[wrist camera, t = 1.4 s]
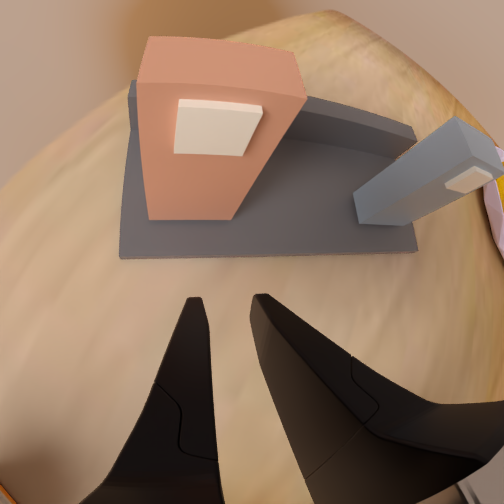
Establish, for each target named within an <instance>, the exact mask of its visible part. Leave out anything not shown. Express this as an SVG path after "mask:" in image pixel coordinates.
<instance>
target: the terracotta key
mask: <svg viewBox="0 0 504 504" xmlns="http://www.w3.org/2000/svg"><path fill="white" fill-rule="evenodd" d="M136 89H137V111H138V127H139V140H140V152H141V162H142V171H143V180H144V188H145V196H146V203H147V210H148V217H149V220H231V219H232V217H233V216H234V214H235V213H236V211H237V209H238V208H239V206H240V204H241V203H242V201H243V199H244V198H245V196H246V194H247V193H248V191H249V190H250V188H251V186H252V185H253V183H254V181H255V180H256V178H257V177H258V175H259V173H260V172H261V170H262V169H263V167H264V165H265V164H266V162H267V161H268V159H269V158H270V156H271V154H272V153H273V151H274V150H275V148H276V147H277V145H278V143H279V142H280V140H281V139H282V137H283V136H284V134H285V132H286V131H287V129H288V128H289V126H290V125H291V123H292V122H293V120H294V119H295V117H296V116H297V114H298V113H299V111H300V109H301V108H302V106H303V105H304V103H305V102H306V100H307V95H306V92H305V88H304V85H303V81H302V78H301V75H300V71H299V68H298V65H297V62H296V59H295V56H294V53H293V52H290V51H285V50H280V49H276V48H271V47H265V46H260V45H254V44H248V43H241V42H234V41H226V40H217V39H206V38H192V37H191V38H190V37H163V36H156V37H155V36H154V37H153V36H152V37H149V39H148V42H147V45H146V49H145V52H144V56H143V59H142V63H141V67H140V71H139V74H138V78H137V82H136Z"/></svg>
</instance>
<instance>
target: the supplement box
mask: <svg viewBox="0 0 504 504" xmlns="http://www.w3.org/2000/svg"><path fill="white" fill-rule="evenodd" d="M0 504H17V503H16V502H15V501H14V500H13V499H12V498H11V497H10V495H9V494H8V493H7V492H6V491H5V490H4V488H3V487H2V486H1V485H0Z"/></svg>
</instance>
